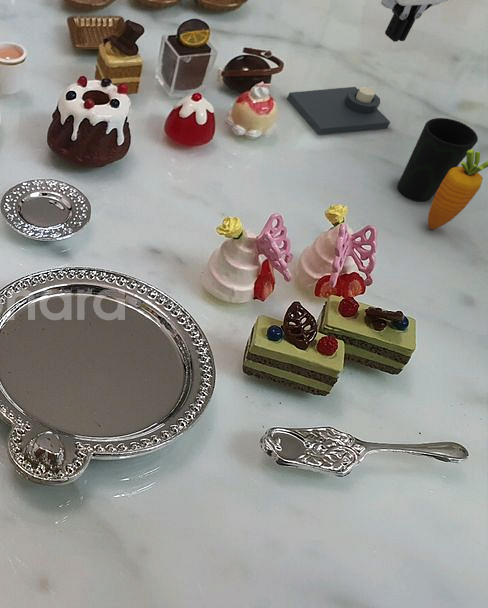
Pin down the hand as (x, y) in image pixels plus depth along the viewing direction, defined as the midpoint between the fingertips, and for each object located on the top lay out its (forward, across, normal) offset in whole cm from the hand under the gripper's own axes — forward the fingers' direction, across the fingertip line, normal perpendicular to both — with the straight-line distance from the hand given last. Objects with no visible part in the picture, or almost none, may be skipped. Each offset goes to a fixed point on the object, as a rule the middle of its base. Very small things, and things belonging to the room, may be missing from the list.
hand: (394, 37), depth 132 cm
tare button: (+12, 0, 0) cm, 12 cm away
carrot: (+15, -6, -32) cm, 37 cm away
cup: (+15, -3, -24) cm, 28 cm away
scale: (+15, -4, 0) cm, 16 cm away
